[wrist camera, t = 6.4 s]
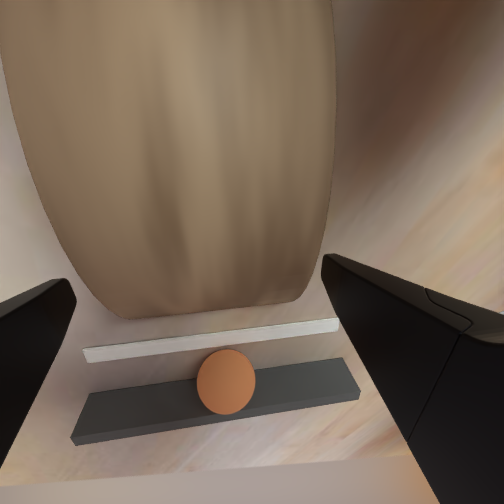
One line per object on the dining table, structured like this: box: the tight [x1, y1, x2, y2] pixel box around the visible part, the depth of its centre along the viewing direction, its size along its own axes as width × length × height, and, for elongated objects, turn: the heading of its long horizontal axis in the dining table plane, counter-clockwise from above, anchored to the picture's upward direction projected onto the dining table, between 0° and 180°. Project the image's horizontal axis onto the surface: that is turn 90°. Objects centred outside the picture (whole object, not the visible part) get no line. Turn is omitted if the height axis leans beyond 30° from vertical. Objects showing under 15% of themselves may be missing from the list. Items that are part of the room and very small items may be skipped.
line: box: [82, 318, 340, 363], centre depth 18 cm, size 18×1×1 cm, turn 92°
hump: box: [0, 0, 336, 319], centre depth 19 cm, size 10×22×22 cm, turn 2°
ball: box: [197, 349, 255, 415], centre depth 18 cm, size 4×4×4 cm
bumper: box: [70, 358, 361, 446], centre depth 19 cm, size 20×1×3 cm, turn 92°
